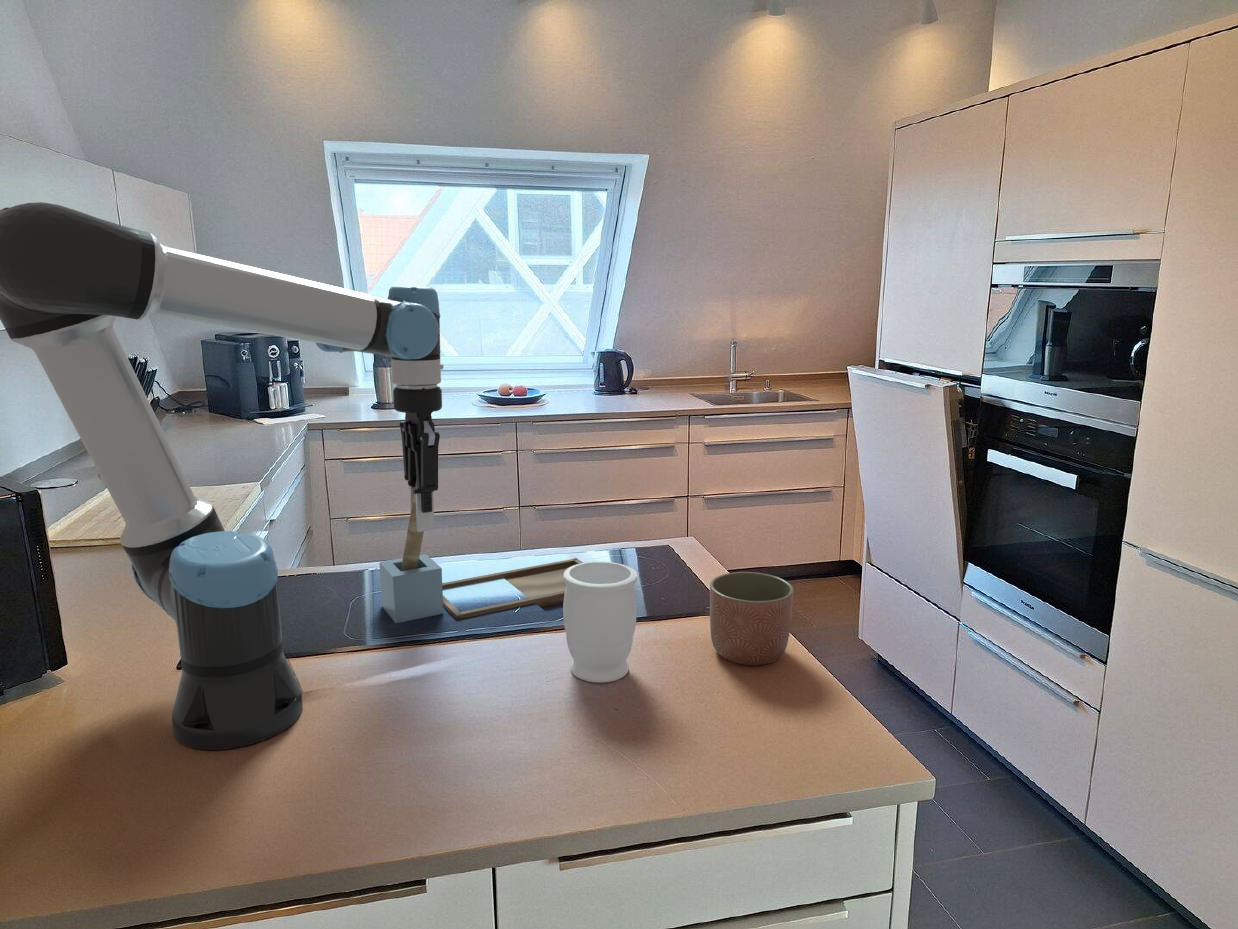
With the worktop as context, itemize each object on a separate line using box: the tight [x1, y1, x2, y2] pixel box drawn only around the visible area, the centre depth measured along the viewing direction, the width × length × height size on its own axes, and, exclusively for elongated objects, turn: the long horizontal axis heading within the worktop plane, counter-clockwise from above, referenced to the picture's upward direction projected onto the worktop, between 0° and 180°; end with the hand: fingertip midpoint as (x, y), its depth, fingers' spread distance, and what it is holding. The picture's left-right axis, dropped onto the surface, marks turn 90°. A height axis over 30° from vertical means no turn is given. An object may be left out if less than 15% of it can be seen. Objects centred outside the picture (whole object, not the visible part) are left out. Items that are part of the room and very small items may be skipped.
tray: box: [442, 557, 584, 621], centre depth 147 cm, size 15×30×2 cm, turn 121°
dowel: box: [401, 479, 425, 571], centre depth 135 cm, size 3×7×20 cm, turn 121°
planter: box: [709, 571, 795, 666], centre depth 124 cm, size 12×12×11 cm
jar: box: [562, 561, 638, 684], centre depth 117 cm, size 11×10×15 cm
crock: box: [379, 553, 445, 624], centre depth 136 cm, size 8×8×9 cm
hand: (422, 527), depth 135 cm, fingers closed on dowel, 2 cm apart
